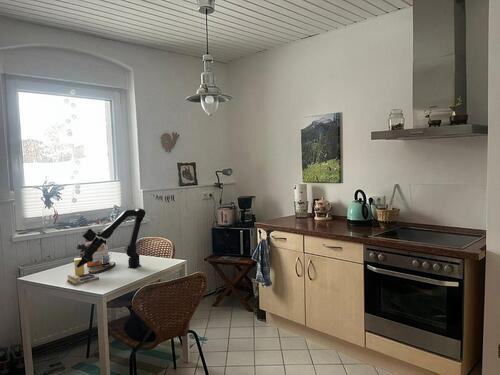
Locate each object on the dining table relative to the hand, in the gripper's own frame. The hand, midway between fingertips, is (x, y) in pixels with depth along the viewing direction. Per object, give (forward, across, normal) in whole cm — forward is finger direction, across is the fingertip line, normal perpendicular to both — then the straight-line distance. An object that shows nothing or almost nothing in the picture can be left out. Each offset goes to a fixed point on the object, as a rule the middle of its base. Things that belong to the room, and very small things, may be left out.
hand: (76, 266), depth 231 cm
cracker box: (-6, -22, +15) cm, 28 cm away
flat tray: (+2, +10, +7) cm, 13 cm away
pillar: (+4, 0, +6) cm, 7 cm away
